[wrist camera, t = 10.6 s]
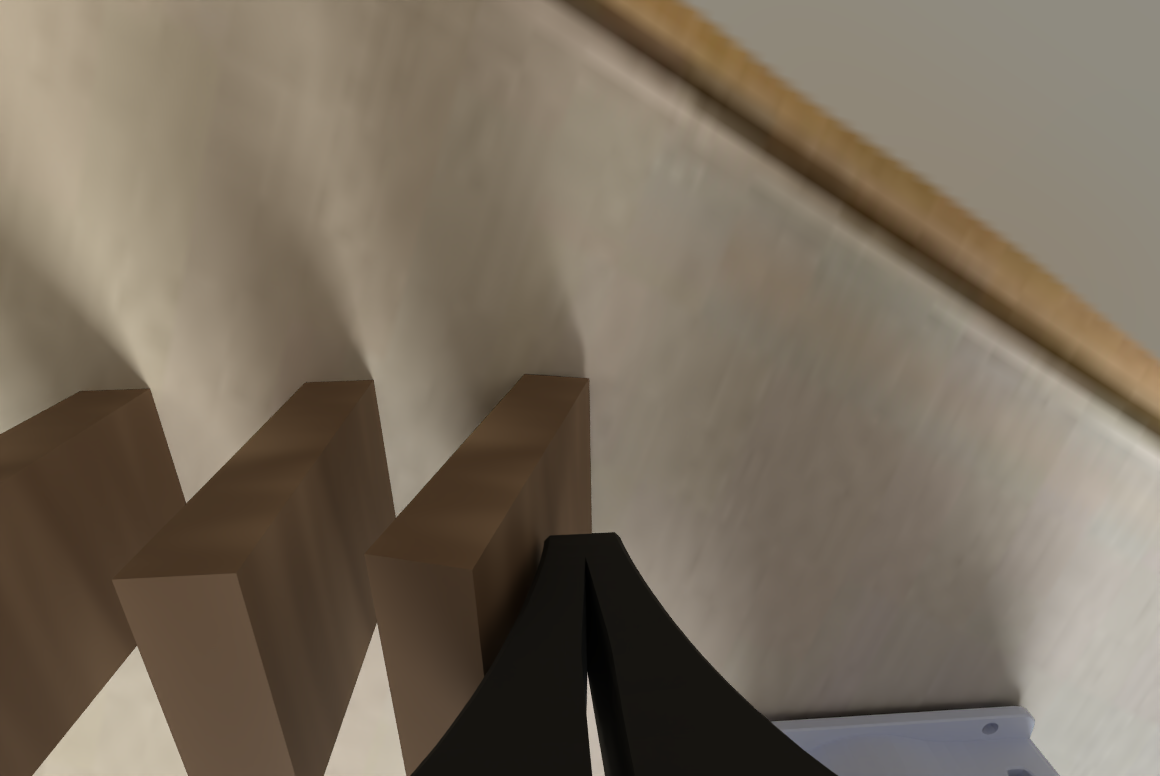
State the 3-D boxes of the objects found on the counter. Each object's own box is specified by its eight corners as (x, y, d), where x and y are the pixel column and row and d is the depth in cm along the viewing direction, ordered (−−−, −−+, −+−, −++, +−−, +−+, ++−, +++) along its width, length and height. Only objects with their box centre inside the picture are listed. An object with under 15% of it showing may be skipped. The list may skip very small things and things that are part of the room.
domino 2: (373, 379, 14) (235, 572, 8) (401, 552, 16) (308, 820, 10) (305, 382, 14) (112, 579, 8) (341, 555, 16) (208, 826, 10)
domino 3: (589, 378, 14) (472, 569, 8) (591, 552, 16) (499, 817, 10) (524, 374, 15) (363, 554, 8) (534, 545, 17) (410, 796, 10)
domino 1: (150, 388, 14) (-175, 594, 8) (204, 561, 16) (-22, 842, 10) (79, 391, 14) (-309, 601, 8) (142, 564, 16) (-127, 850, 10)
